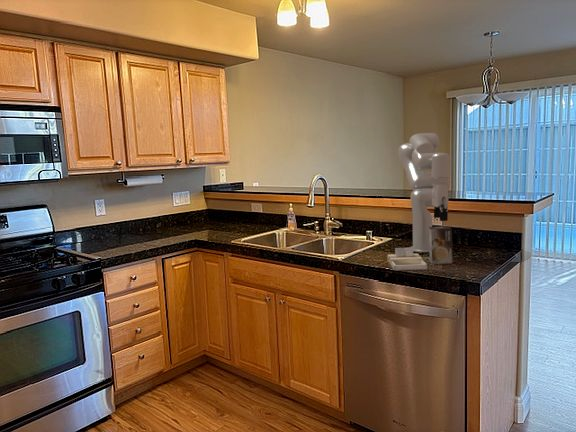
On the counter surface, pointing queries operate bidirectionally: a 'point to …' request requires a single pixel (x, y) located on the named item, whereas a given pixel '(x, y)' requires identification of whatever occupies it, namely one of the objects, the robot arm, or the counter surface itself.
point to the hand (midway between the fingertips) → (440, 219)
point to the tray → (409, 266)
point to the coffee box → (440, 245)
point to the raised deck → (405, 259)
